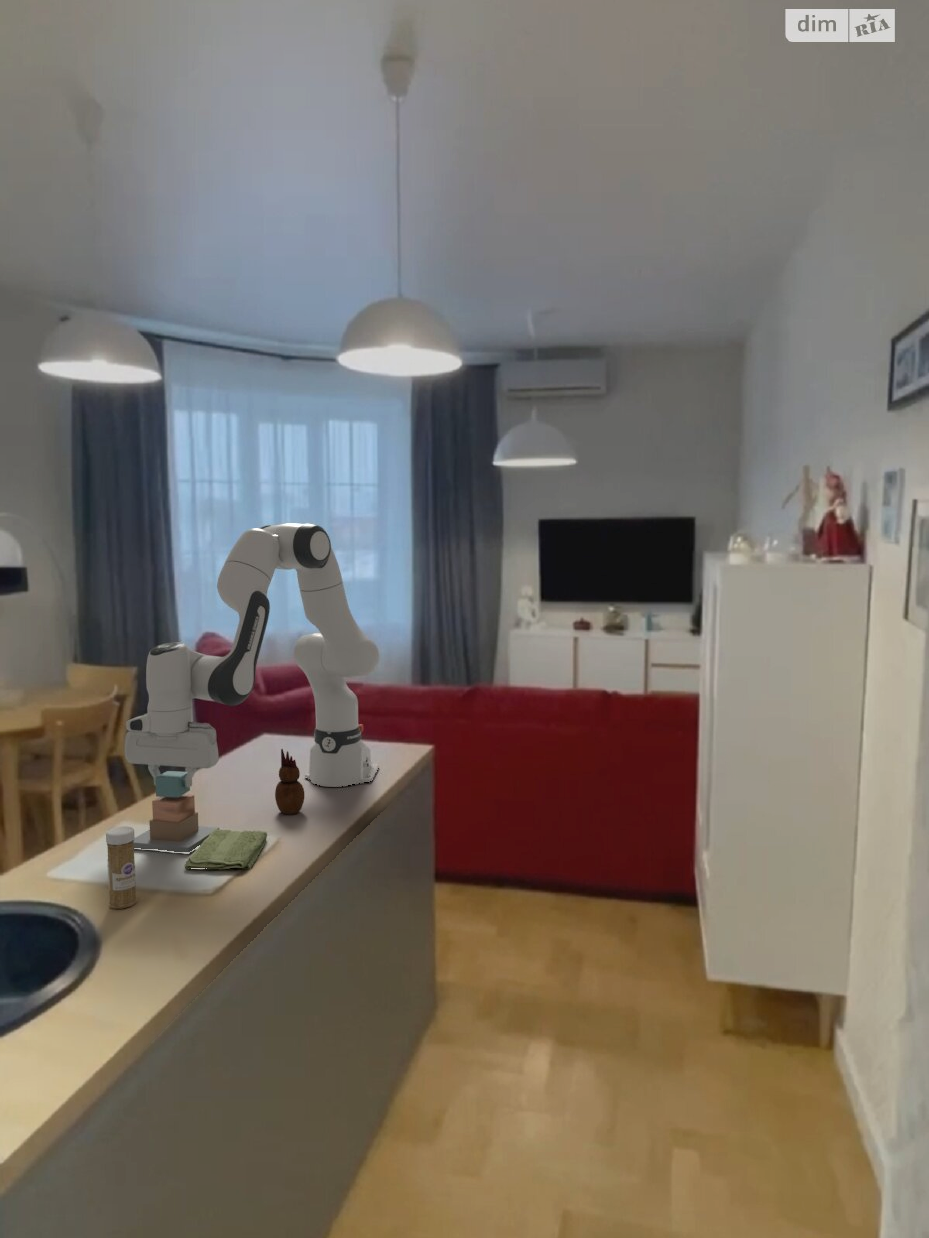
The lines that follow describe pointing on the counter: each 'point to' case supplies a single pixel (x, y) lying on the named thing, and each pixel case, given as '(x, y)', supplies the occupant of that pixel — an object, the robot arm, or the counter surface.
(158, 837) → the baseplate
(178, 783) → the brick
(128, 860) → the sprinkles bottle
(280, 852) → the counter surface
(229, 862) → the washcloth
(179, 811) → the brick
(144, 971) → the counter surface
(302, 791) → the wooden figurine
